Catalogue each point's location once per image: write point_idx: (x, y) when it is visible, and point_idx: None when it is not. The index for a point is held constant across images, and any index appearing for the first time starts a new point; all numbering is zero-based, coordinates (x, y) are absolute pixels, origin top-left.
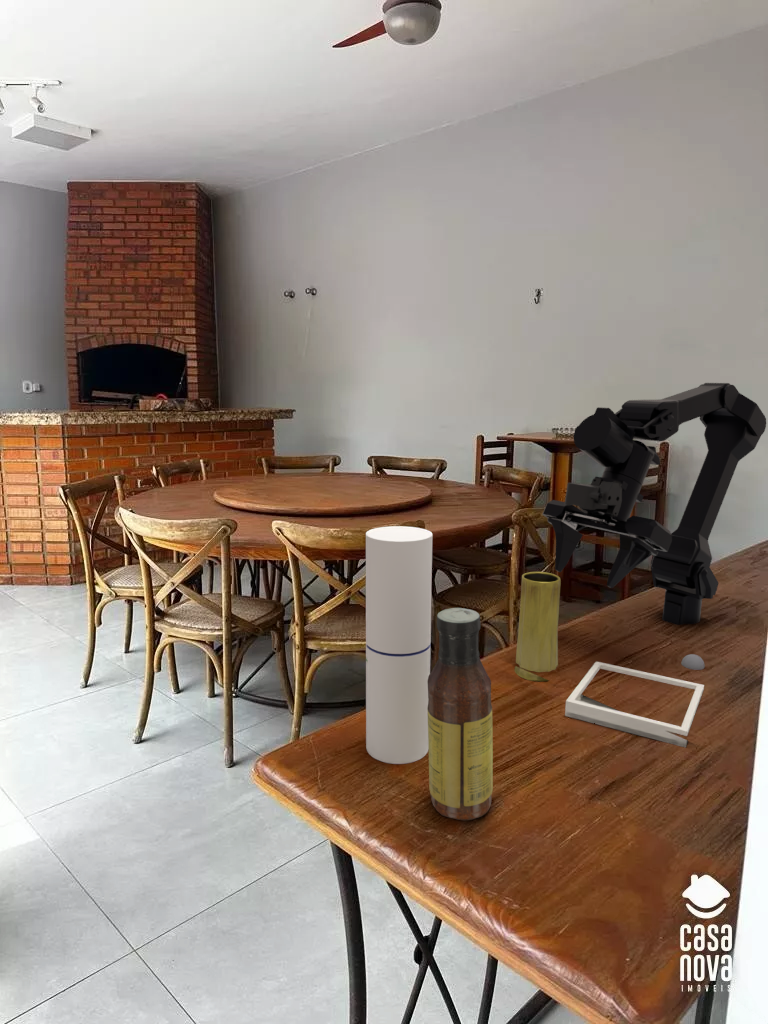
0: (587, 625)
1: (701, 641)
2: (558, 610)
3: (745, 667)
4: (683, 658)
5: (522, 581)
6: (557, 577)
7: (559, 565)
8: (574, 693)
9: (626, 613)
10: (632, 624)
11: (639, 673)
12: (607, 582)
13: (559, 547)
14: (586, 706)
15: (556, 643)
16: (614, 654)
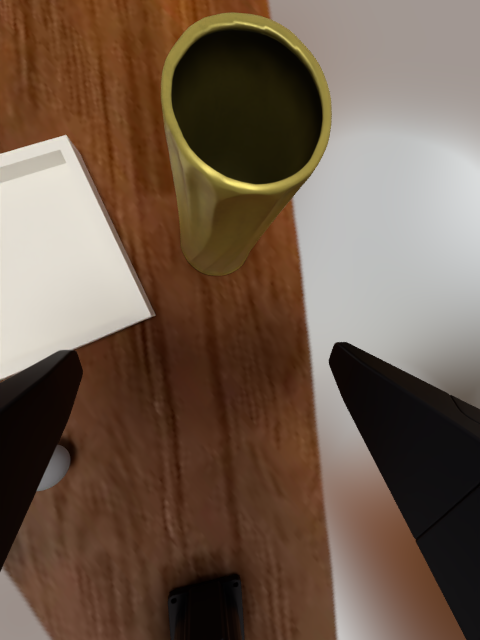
0: (300, 467)
1: (140, 589)
2: (187, 214)
3: (20, 565)
4: (55, 462)
5: (286, 51)
6: (208, 166)
7: (345, 359)
8: (78, 171)
9: (299, 570)
10: (260, 540)
11: (68, 339)
12: (65, 352)
13: (429, 396)
14: (30, 147)
15: (180, 229)
16: (192, 409)
